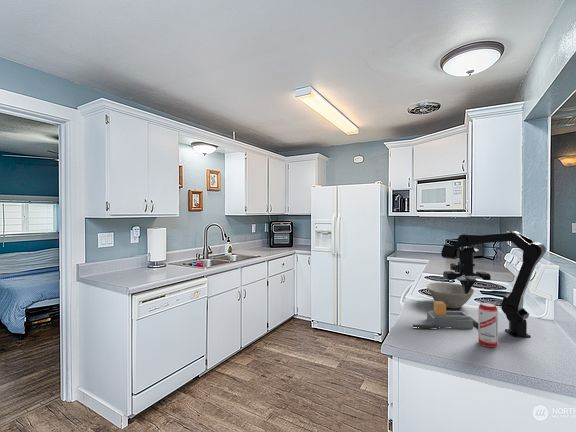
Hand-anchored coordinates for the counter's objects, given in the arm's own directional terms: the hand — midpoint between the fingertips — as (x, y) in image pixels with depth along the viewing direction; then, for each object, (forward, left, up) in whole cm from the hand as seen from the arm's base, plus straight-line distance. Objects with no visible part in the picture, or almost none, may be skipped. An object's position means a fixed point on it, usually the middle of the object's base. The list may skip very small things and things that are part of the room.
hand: (466, 293), depth 140 cm
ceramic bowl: (+19, 0, -13) cm, 23 cm away
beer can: (-25, +3, -13) cm, 28 cm away
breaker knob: (-5, +13, -9) cm, 17 cm away
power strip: (-5, +9, -12) cm, 16 cm away
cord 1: (-12, +22, -12) cm, 28 cm away
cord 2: (-5, -2, -12) cm, 14 cm away
